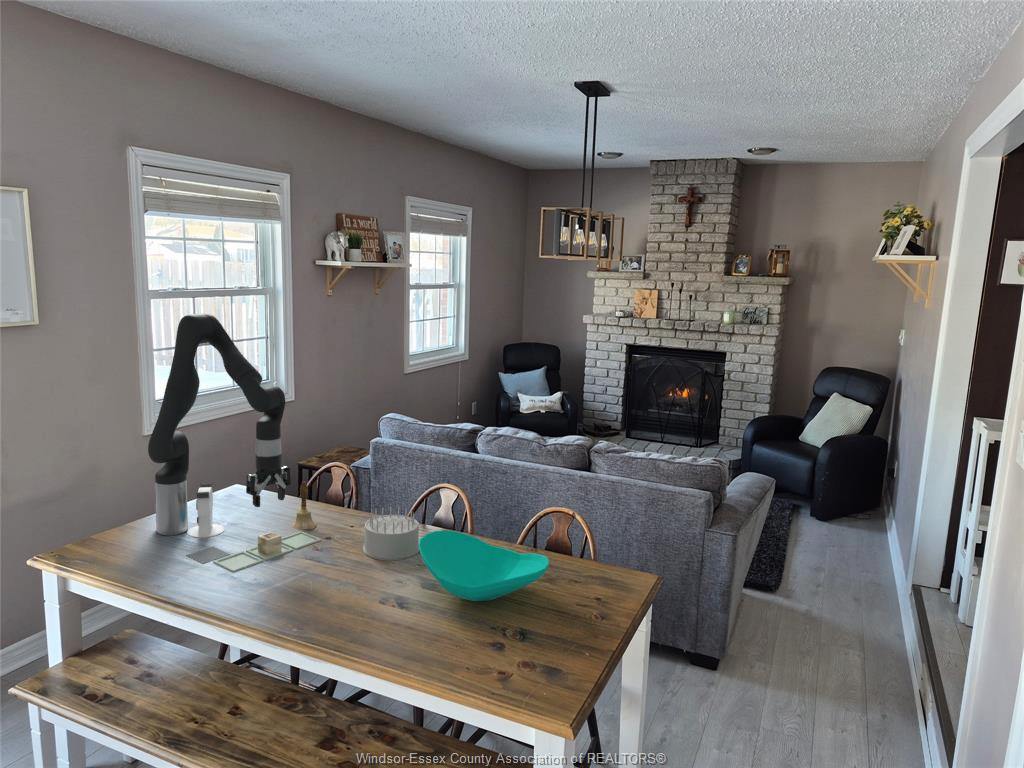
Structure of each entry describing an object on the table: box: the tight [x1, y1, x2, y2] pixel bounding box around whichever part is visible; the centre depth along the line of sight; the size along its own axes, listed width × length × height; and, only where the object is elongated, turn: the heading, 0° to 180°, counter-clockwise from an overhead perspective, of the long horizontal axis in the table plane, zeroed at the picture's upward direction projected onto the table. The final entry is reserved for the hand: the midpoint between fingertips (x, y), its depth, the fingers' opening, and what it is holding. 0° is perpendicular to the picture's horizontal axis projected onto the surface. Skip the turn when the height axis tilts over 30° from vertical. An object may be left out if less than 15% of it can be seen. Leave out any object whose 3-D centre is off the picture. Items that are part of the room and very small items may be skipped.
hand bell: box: [291, 480, 317, 530], centre depth 242 cm, size 8×8×16 cm
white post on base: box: [186, 482, 225, 539], centre depth 234 cm, size 12×11×15 cm
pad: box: [185, 546, 231, 565], centre depth 216 cm, size 9×9×1 cm
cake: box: [362, 506, 420, 562], centre depth 227 cm, size 18×18×13 cm
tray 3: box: [282, 531, 322, 551], centre depth 230 cm, size 10×10×1 cm
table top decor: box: [418, 529, 550, 602], centre depth 198 cm, size 40×28×13 cm
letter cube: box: [257, 531, 283, 555], centre depth 220 cm, size 5×5×5 cm
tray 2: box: [245, 544, 294, 561], centre depth 221 cm, size 10×10×1 cm
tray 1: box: [212, 550, 264, 573], centre depth 212 cm, size 10×10×1 cm
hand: (269, 503), depth 218 cm, fingers open, 8 cm apart
